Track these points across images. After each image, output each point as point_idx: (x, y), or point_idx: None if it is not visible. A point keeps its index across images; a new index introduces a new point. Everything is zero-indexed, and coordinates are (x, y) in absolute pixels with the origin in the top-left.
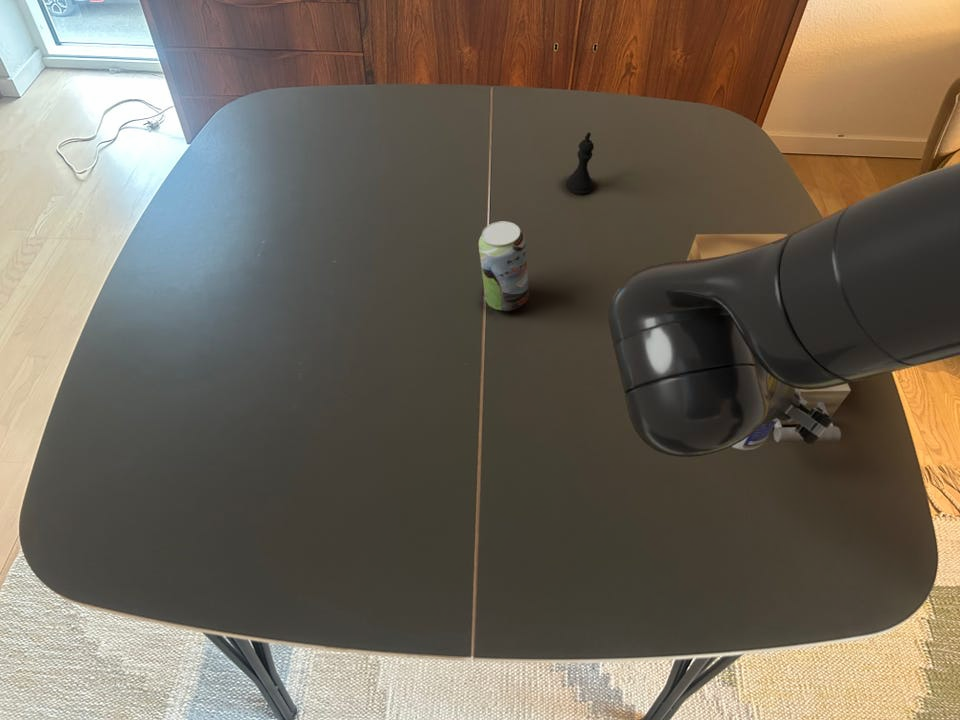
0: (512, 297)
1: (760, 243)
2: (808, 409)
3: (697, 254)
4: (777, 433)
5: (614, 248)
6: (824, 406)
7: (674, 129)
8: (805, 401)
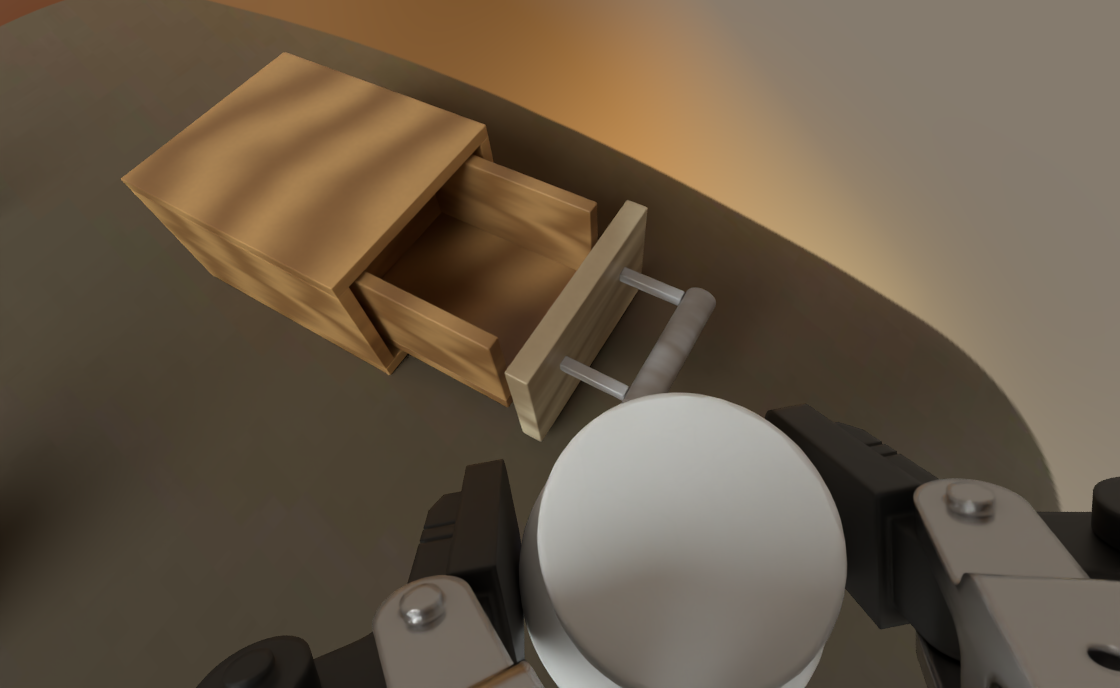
0: None
1: (256, 99)
2: (1054, 526)
3: (166, 213)
4: None
5: (44, 328)
6: (635, 272)
7: (2, 63)
8: (1041, 522)
